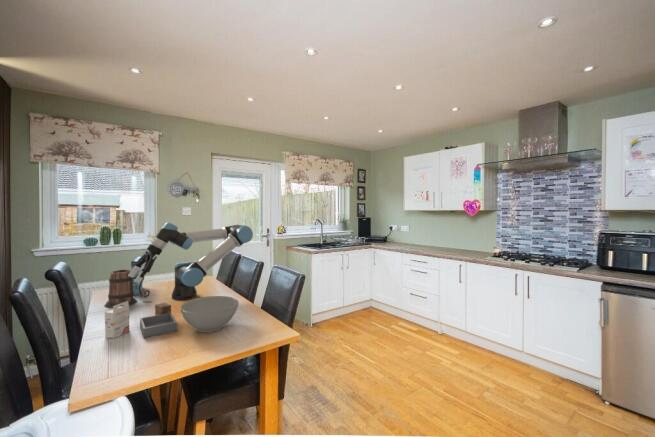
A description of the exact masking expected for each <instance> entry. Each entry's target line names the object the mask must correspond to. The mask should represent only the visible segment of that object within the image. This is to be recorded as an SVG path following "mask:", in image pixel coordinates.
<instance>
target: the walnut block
mask: <svg viewBox="0 0 655 437" xmlns="http://www.w3.org/2000/svg"><path fill="white" fill-rule="evenodd" d="M154 311H155V312H154V316H155V315H161V314H166V313H171V314H172V304H170V303H168V302H160V303H157V304H156V303H155V309H154Z"/></svg>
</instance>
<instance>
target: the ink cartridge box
mask: <svg viewBox="0 0 655 437" xmlns="http://www.w3.org/2000/svg"><path fill="white" fill-rule="evenodd" d="M120 305H124V306H120ZM119 306H120V307H119ZM128 332H130V306H129V303H128V301H126V302H123V303H120V304H118V305H115V306H113V308H111V309H109V310H107V311H105V312H104V333H105V334H104V336H105V338H108V339H116V338H117V337H120V336H122V335H124V334H126V333H128Z"/></svg>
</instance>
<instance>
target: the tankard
mask: <svg viewBox="0 0 655 437" xmlns="http://www.w3.org/2000/svg"><path fill="white" fill-rule="evenodd" d="M130 272H131V269H118V270H113V271H111V272H110V276H109V277H108V282H109V283H108V284H109V286H108V295H107V298H108V299H107V301H106V302H105V304H104V305H103V307H104V308H106V309H113V306H115V305H118V304H120V303H123V302H126V301H128V303H129V307H130V306H133V305H136V304H137V303H138V300H137V299H136V298H135V297H134V296H135V295H134V291H133V279H136V278H137V276H138V275H139V274H137V275H136V277H133V278H132V277H130V276H128V275H129V274H130ZM144 280H145V276H144V277H143V279H142V280H141V282H140V284H139V295H140V297H142V298H148V297H149V296H150V294H151V291H150V289H149V290H148V289H146V290H144V291H143V292H144V294H143V293H142V289H140V288H141V284H142V282H143V281H144ZM120 306H124V305H120ZM120 306H119V307H120Z"/></svg>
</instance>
